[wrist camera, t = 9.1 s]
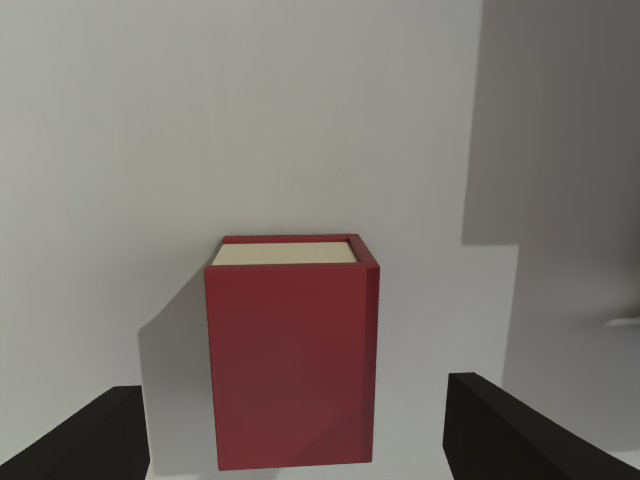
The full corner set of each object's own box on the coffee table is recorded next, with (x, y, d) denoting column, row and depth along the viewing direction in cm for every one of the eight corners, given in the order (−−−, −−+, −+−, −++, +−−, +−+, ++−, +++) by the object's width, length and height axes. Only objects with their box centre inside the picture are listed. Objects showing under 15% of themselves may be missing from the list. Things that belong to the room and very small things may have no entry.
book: (354, 391, 15) (372, 463, 12) (233, 396, 15) (218, 472, 12) (358, 233, 14) (380, 265, 10) (224, 235, 13) (203, 269, 10)
